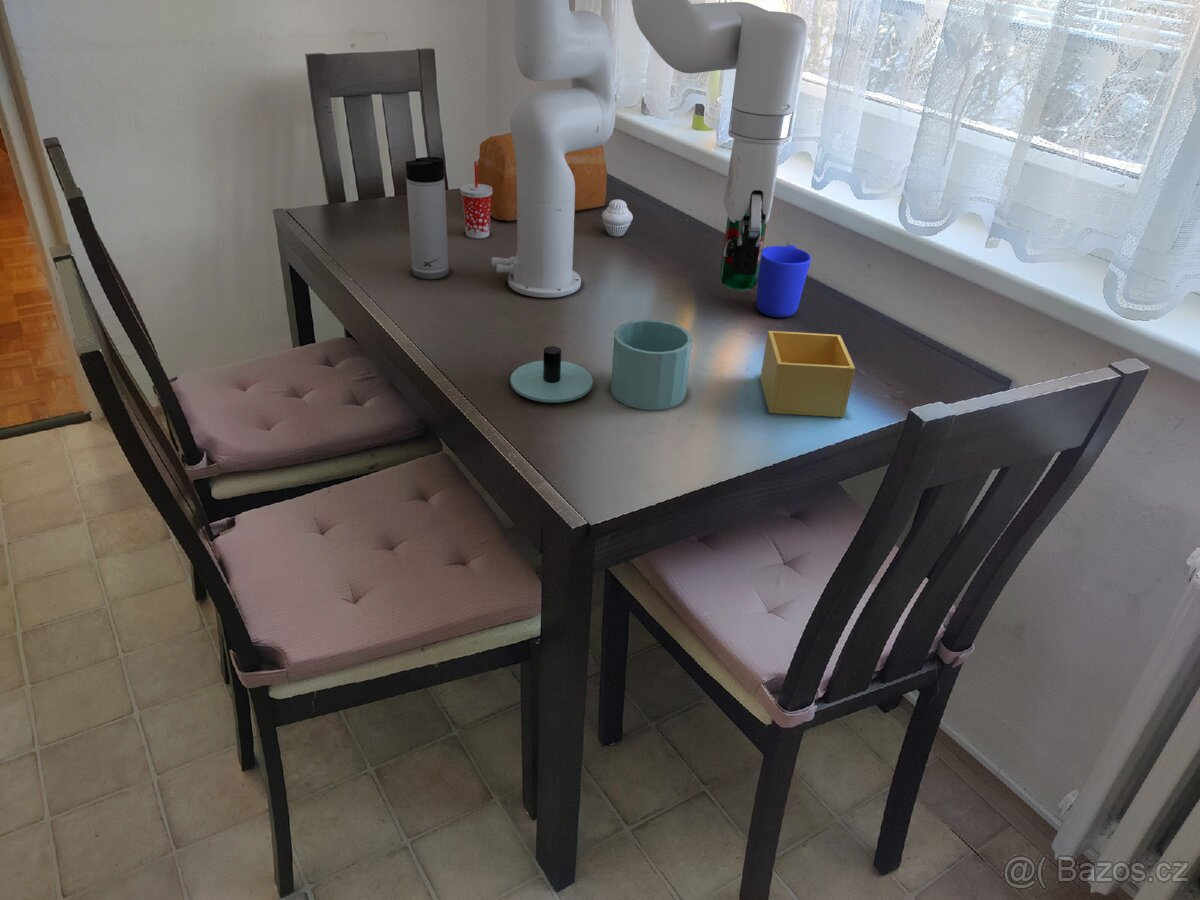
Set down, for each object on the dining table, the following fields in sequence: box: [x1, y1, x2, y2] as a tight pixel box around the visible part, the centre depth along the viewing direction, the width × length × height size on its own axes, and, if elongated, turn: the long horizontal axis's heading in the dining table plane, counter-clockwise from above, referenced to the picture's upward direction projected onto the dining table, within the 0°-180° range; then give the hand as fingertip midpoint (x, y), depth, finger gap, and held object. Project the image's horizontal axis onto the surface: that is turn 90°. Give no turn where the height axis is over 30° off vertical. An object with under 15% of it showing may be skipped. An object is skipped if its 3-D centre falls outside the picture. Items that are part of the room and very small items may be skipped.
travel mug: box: [405, 156, 450, 280], centre depth 151 cm, size 6×7×20 cm
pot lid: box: [510, 345, 594, 403], centre depth 123 cm, size 11×11×6 cm
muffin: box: [601, 198, 634, 237], centre depth 176 cm, size 6×6×7 cm
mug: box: [755, 244, 812, 319], centre depth 149 cm, size 8×12×10 cm
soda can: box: [719, 213, 767, 292], centre depth 117 cm, size 5×5×12 cm
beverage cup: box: [459, 160, 493, 239], centre depth 170 cm, size 6×6×14 cm
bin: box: [759, 330, 856, 418], centre depth 123 cm, size 10×10×8 cm
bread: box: [477, 132, 608, 222], centre depth 186 cm, size 14×26×16 cm, turn 122°
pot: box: [610, 319, 693, 411], centre depth 122 cm, size 10×10×8 cm
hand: (740, 264), depth 119 cm, fingers closed on soda can, 5 cm apart
